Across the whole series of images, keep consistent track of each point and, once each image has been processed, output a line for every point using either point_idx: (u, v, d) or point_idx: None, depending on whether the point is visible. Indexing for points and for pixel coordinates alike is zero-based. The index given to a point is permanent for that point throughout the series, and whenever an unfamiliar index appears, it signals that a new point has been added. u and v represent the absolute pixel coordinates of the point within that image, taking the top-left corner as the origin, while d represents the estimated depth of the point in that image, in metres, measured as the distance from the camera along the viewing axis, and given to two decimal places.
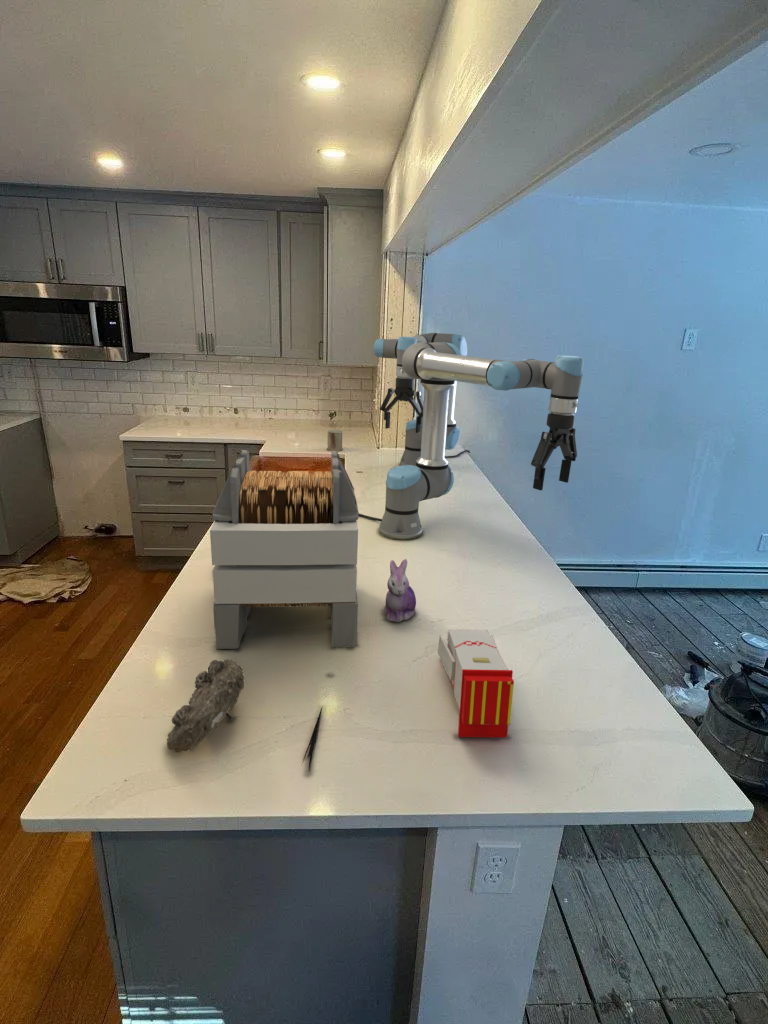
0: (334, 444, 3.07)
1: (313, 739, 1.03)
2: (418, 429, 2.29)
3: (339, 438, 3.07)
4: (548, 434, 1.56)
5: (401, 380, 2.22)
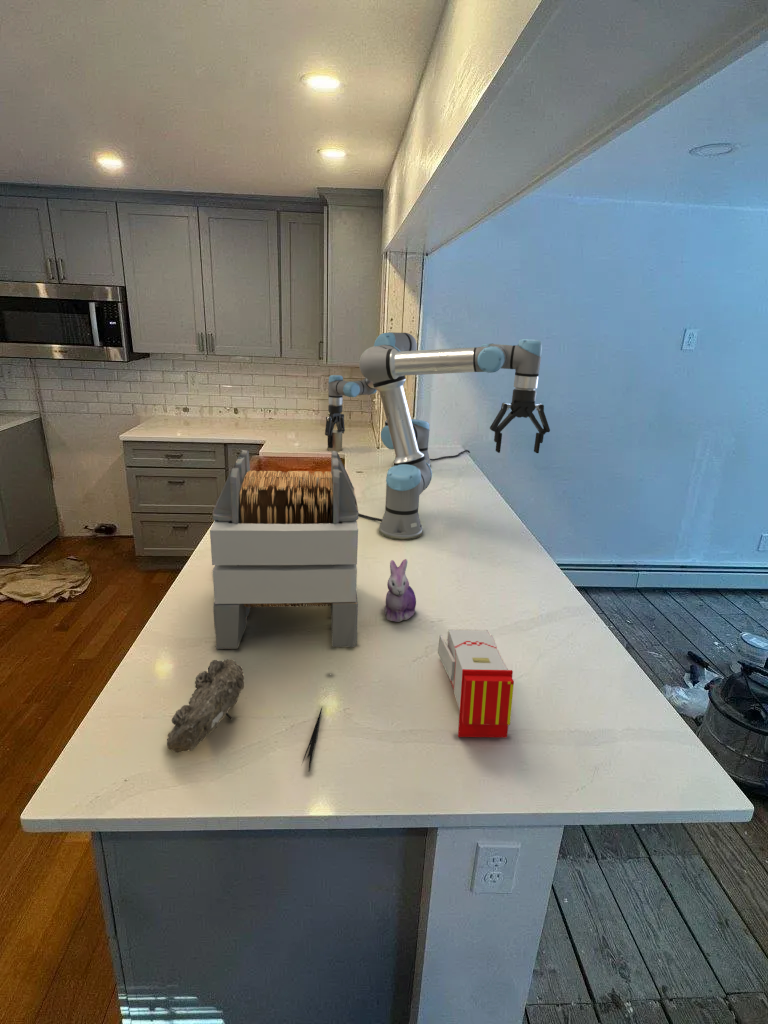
0: (334, 444, 3.07)
1: (313, 739, 1.03)
2: (329, 445, 3.08)
3: (339, 438, 3.07)
4: None
5: None
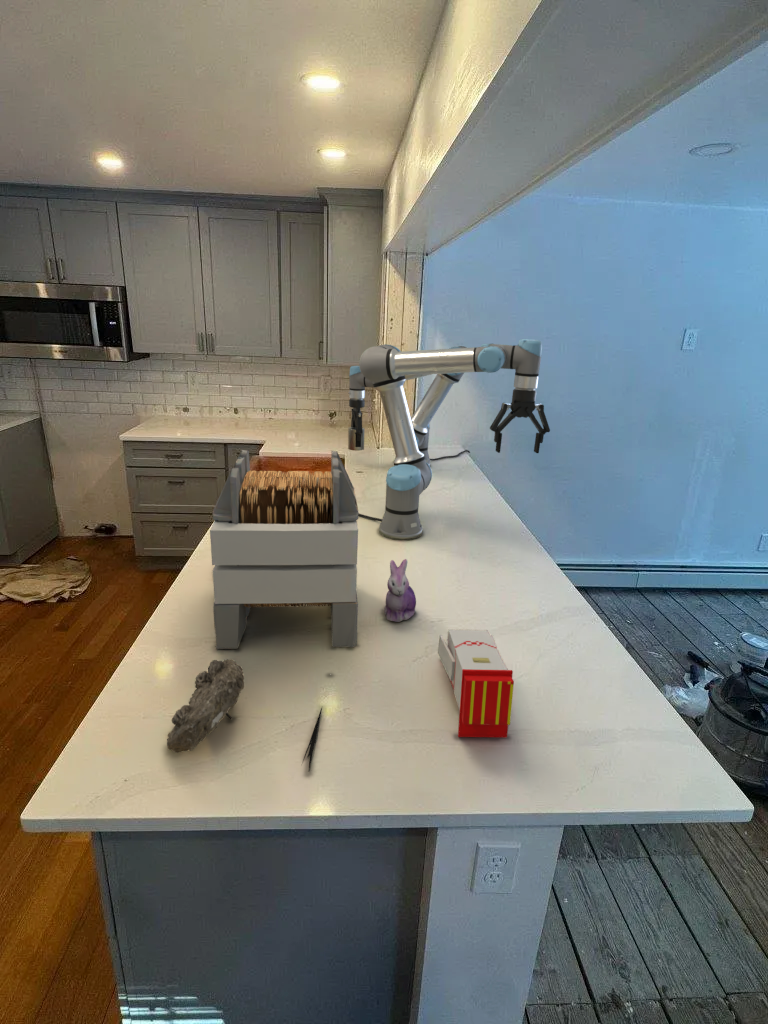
0: (361, 442, 2.79)
1: (313, 739, 1.03)
2: (357, 444, 2.77)
3: None
4: None
5: (349, 400, 2.73)
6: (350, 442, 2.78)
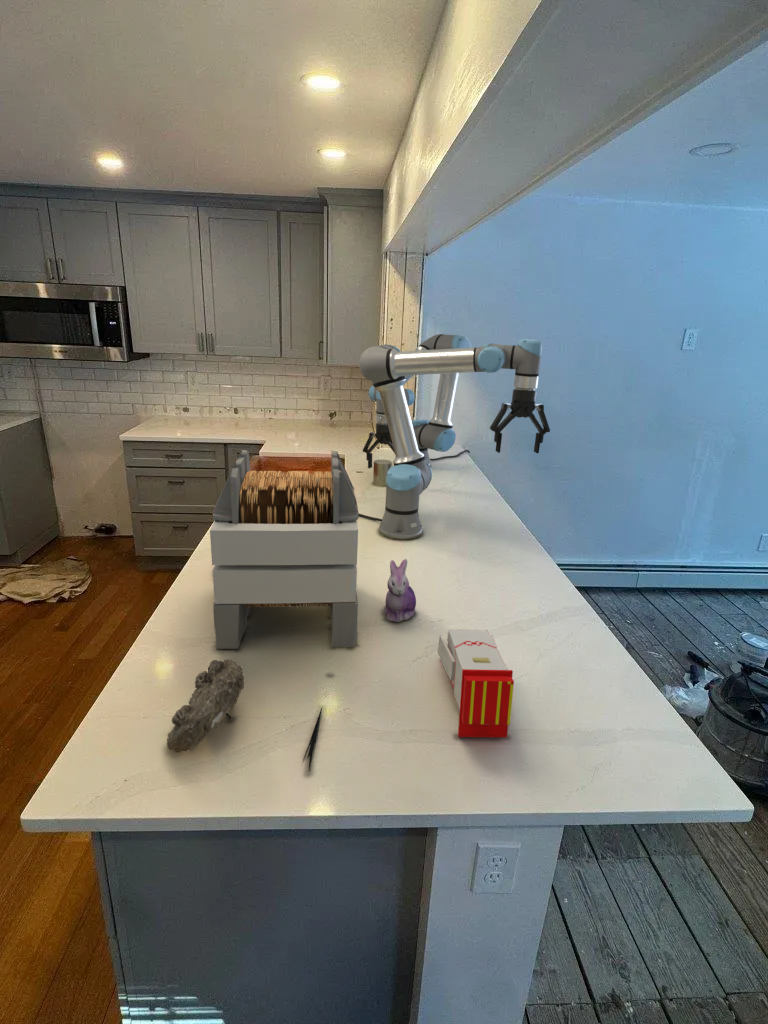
0: None
1: (313, 739, 1.03)
2: None
3: None
4: None
5: (380, 426, 2.44)
6: (383, 478, 2.51)
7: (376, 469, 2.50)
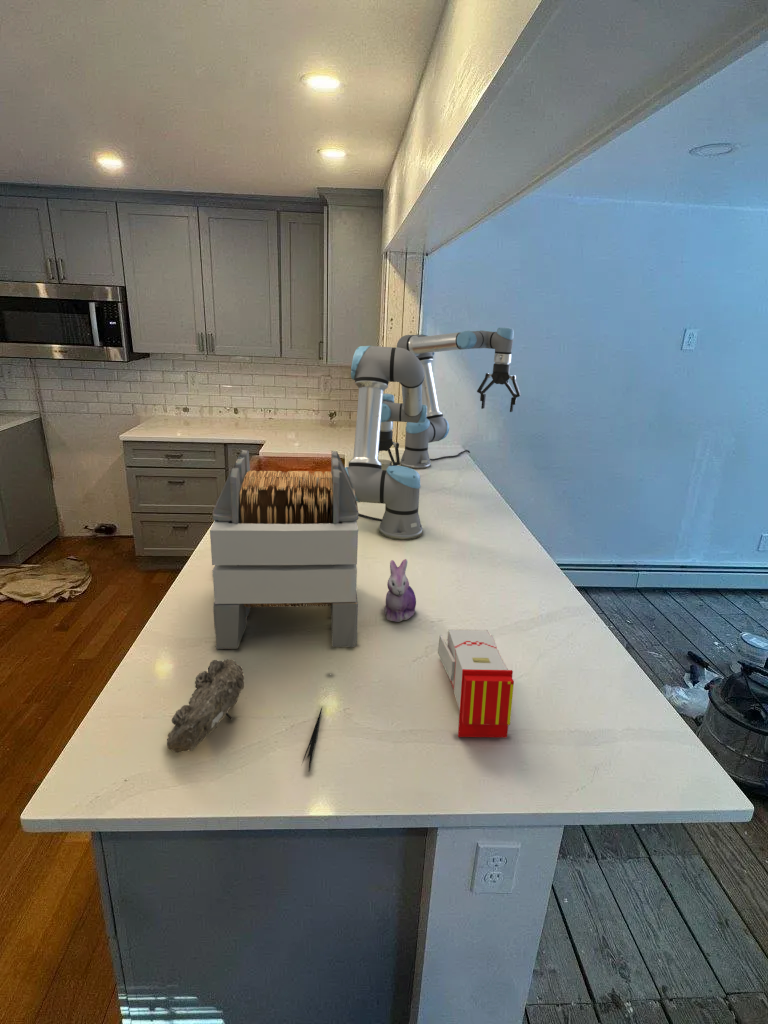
0: None
1: (313, 739, 1.03)
2: (512, 409, 2.62)
3: None
4: None
5: (499, 365, 2.55)
6: None
7: None
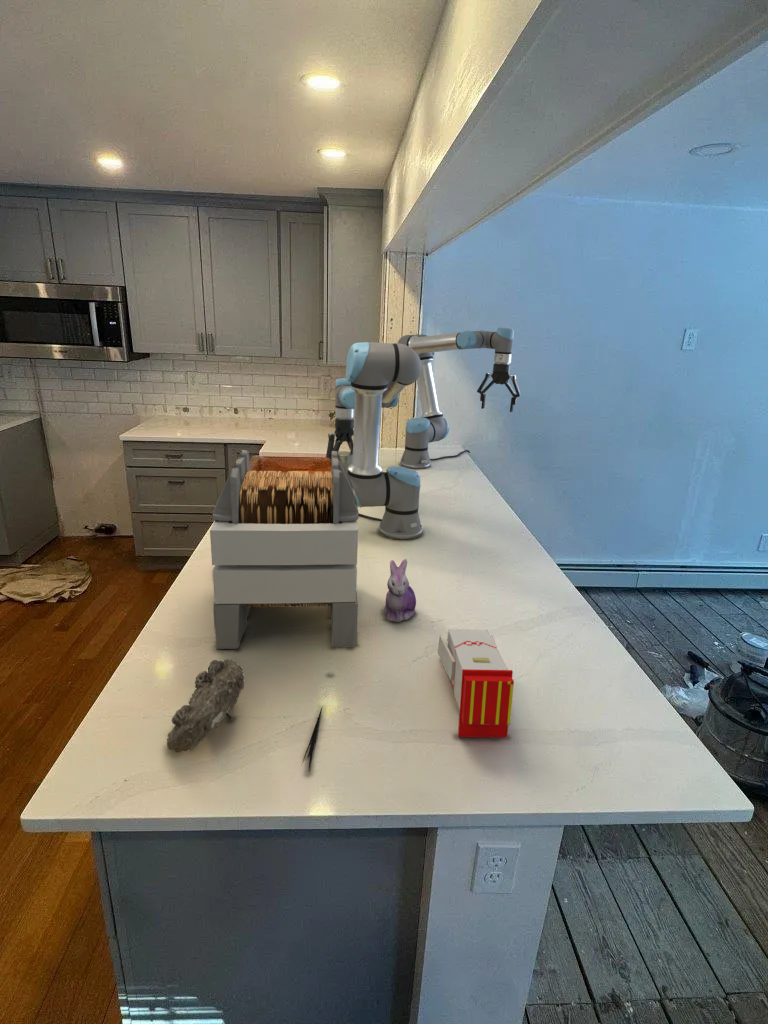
0: None
1: (313, 739, 1.03)
2: (512, 409, 2.62)
3: None
4: None
5: (499, 365, 2.55)
6: None
7: None
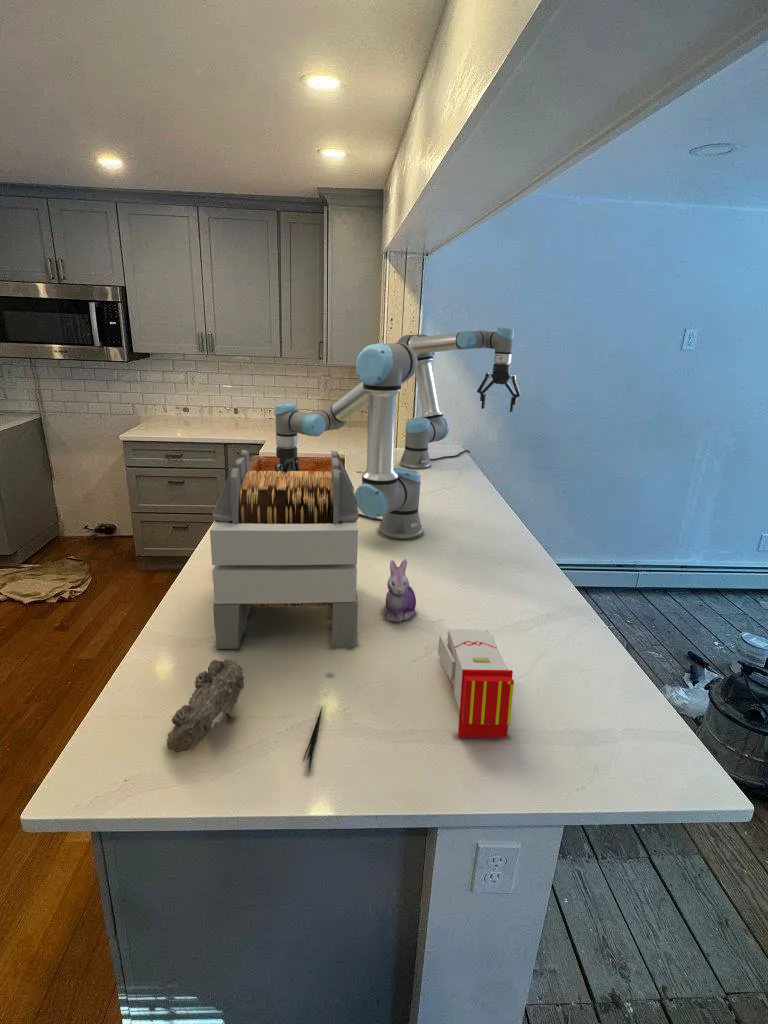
0: None
1: (313, 739, 1.03)
2: (512, 409, 2.62)
3: None
4: None
5: (499, 365, 2.55)
6: None
7: None
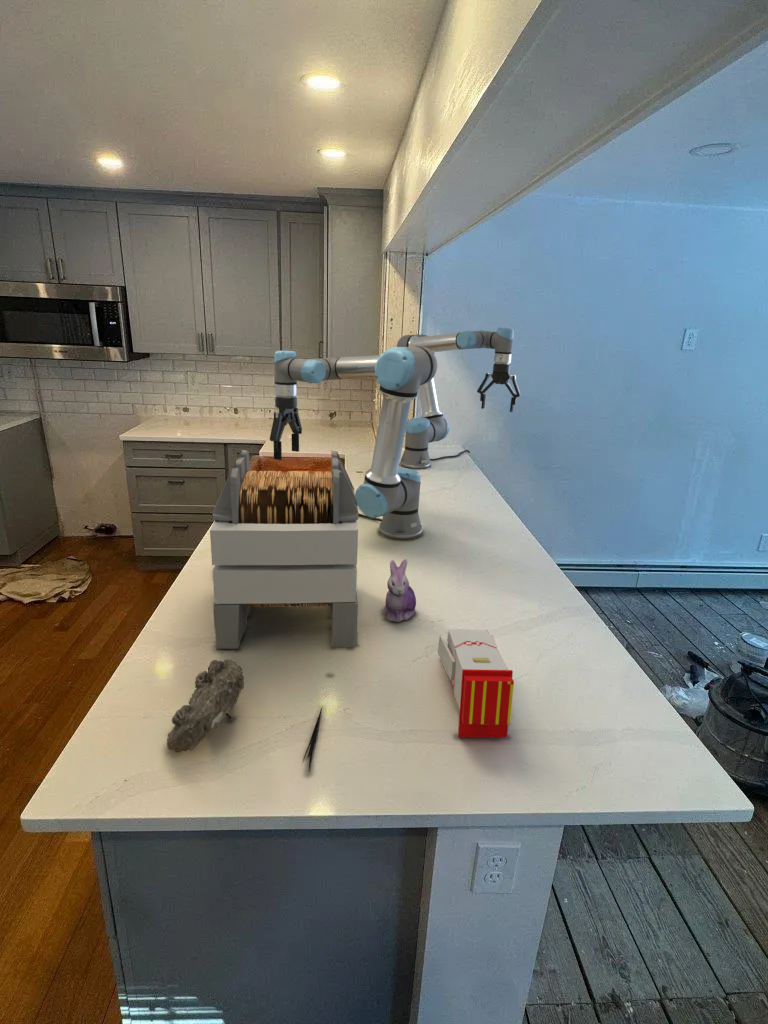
0: None
1: (313, 739, 1.03)
2: (512, 409, 2.62)
3: None
4: None
5: (499, 365, 2.55)
6: None
7: None
